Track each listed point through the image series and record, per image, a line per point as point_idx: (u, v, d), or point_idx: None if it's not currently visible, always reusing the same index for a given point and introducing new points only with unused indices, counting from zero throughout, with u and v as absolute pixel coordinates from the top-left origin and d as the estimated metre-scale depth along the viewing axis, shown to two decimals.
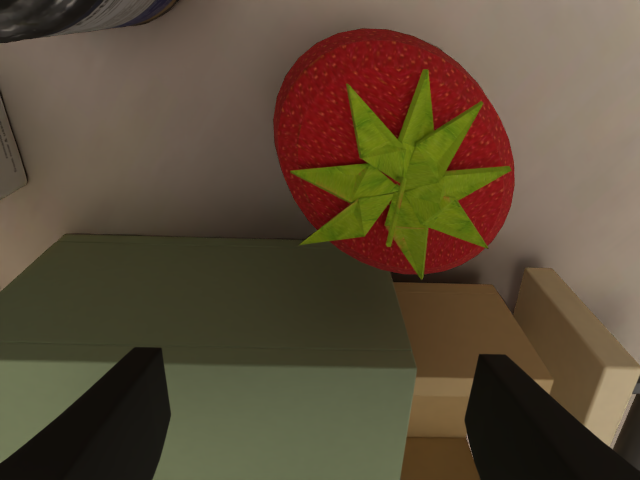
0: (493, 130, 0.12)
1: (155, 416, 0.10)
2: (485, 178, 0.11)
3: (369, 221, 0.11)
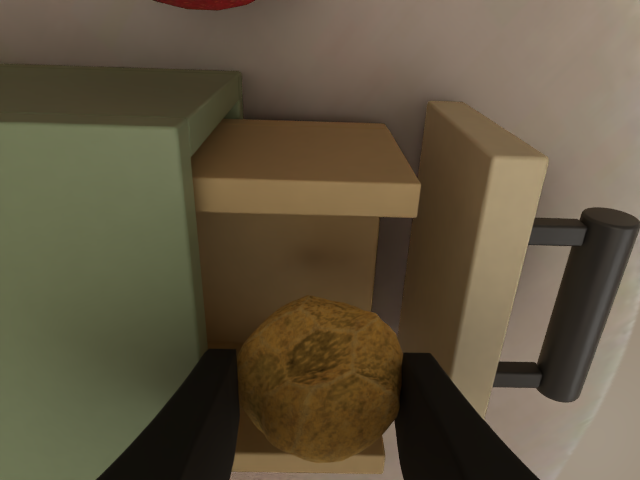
0: None
1: (232, 417, 0.10)
2: None
3: None
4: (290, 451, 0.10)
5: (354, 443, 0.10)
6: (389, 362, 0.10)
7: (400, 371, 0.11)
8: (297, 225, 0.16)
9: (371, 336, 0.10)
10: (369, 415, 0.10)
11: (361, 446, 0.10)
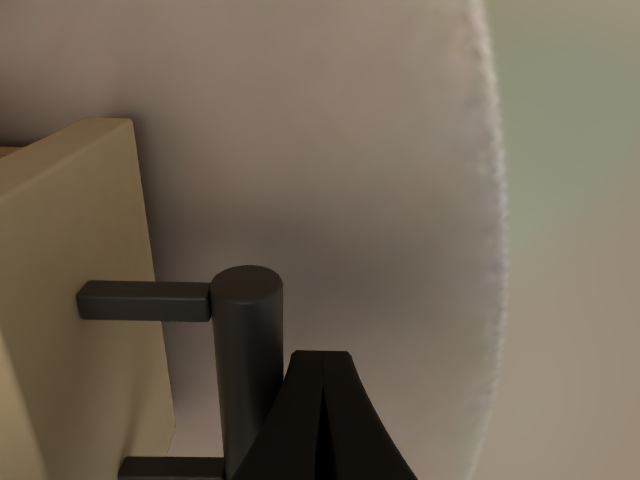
0: None
1: (321, 419, 0.10)
2: None
3: None
4: None
5: None
6: None
7: None
8: None
9: None
10: None
11: None
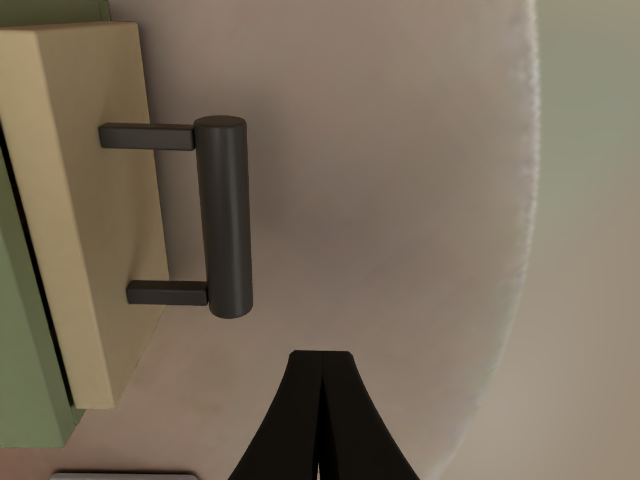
0: None
1: (320, 419, 0.10)
2: None
3: None
4: None
5: None
6: None
7: None
8: None
9: None
10: None
11: None
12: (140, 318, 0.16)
